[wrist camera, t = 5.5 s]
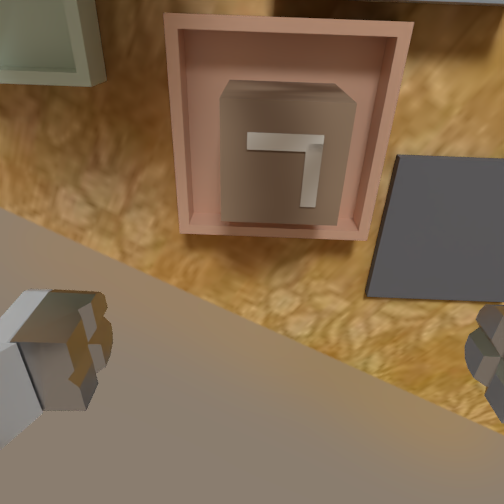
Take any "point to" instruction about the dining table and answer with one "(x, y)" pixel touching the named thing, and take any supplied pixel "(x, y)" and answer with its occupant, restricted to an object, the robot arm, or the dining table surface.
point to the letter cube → (283, 151)
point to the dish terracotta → (285, 70)
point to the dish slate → (448, 2)
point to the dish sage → (50, 43)
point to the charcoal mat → (441, 231)
